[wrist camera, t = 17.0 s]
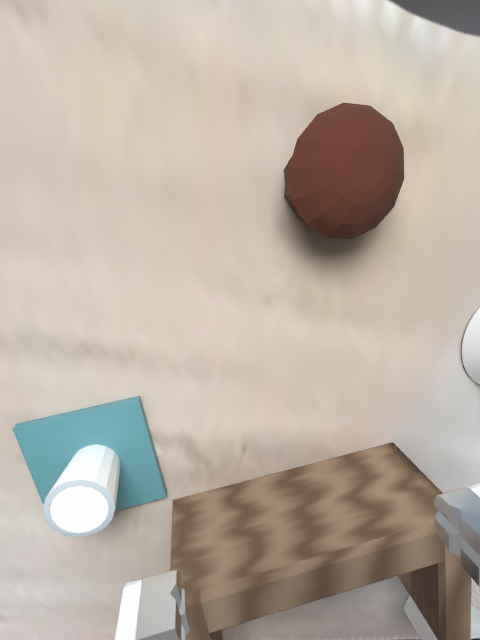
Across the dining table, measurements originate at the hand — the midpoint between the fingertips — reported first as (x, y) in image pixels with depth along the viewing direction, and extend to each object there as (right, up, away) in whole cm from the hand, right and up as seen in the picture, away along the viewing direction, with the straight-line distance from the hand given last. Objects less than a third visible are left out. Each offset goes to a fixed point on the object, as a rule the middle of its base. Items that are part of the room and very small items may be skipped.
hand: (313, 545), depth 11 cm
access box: (+6, -24, +40) cm, 47 cm away
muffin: (+7, +22, +28) cm, 36 cm away
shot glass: (-19, -10, +31) cm, 38 cm away
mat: (-20, -10, +32) cm, 39 cm away
